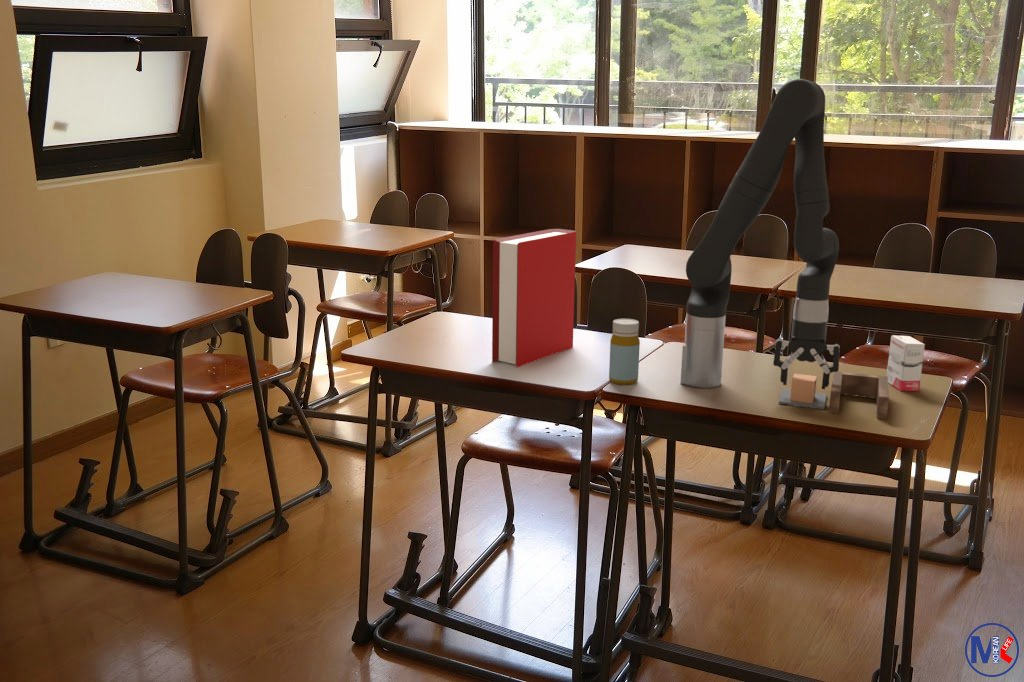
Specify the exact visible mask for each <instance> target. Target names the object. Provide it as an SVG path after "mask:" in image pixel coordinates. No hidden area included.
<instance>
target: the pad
mask: <svg viewBox="0 0 1024 682" xmlns="http://www.w3.org/2000/svg"><path fill="white" fill-rule="evenodd" d="M779 395H780V396H779V399H778V403H780V404H779V405H782V404H788V405H787V406H791V405H796V406H795V407H800V406H803V407H802V408H808V407H810V409H817V408H818V409H819V410H825V408H826V400H827V393H817V392H815V398H814V401H813V403H808V402H800V401H791V400H790V397H791V389H783V388H782V390H781V392H780V394H779Z"/></svg>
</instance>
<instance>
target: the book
mask: <svg viewBox="0 0 1024 682" xmlns="http://www.w3.org/2000/svg"><path fill="white" fill-rule="evenodd" d="M576 249H577V231H576V230H571V229H564V228H548V229H544V230H537V231H532V232H527V233H521V234H515V235H512V236H511V235H510V236H506V237H505V236H504V237H499V238H493V239H492V321H491V322H492V327H491V329H492V330H491V331H492V332H491V336H492V337H491V338H492V341H491V348H492V349H491V355H492V356H491V362H492V363H494V362H499V361H500V362H504V363H508V364H513V365H515V366H516V368H518V367H521V366H524V365H527V364H530V363H533V362H535V361H536V362H537V361H538V360H542V359H545V358H547V357H549V356H553V355H555V354H559V353H561V352H564V351H566V350H569V349H572V348H574V317H575V291H576V290H575V288H576V286H575V285H576V281H575V280H576V279H575V278H576V256H577V255H576V254H577V253H576V252H577V250H576Z"/></svg>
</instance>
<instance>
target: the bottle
mask: <svg viewBox="0 0 1024 682" xmlns="http://www.w3.org/2000/svg"><path fill="white" fill-rule="evenodd" d="M639 322H640V321H638V320H637V319H633V318H617V319H614V320H613V321H612V335H611V338H610V346H609V368H608V369H609V370H608V379H609V381H610V382H611V383H612V384H615V385H619V386H631V385H634V384H636V383H637V382H638V381H639V369H640V368H639V367H640V366H639V365H640V344H641V343H640V341H641V340H640V338H639V330H640V329H639V328H640V327H639V326H640V323H639Z"/></svg>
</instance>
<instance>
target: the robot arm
mask: <svg viewBox="0 0 1024 682" xmlns="http://www.w3.org/2000/svg"><path fill="white" fill-rule="evenodd" d="M825 113H826V94H825V92H824V90H823V88H822V87H821V86H820V85H819V84H818V83H816V82H815V81H811V80H808V79H804V78H794V79H790V80H788V81H787V82H785V83H784V84H783V85H782V86H781V87H780V88H779V89H778V91H777V93H776V95H775V97H774V99H773V102H772V104H771V107H770V109H769V111H768V113H767V116H766V118H765V121H764V123H763V126H762V127H761V129H760V132H758V135H757V137H756V138H755V140H754V141H753V143H752V145H751V146H750V149H749V150H748V152H747V154H746V155H745V157H744V159H743V161H742V162H741V165H740V166H739V168H738V170H737V171H736V173H735V174H734V177H733V178H732V180H731V182H730V184H729V185H728V188H727V190H726V192H725V194H724V196H723V198H722V200H721V202H720V204H719V206H718V209H717V211H716V213H715V216H714V217H713V220H712V222H711V224H710V226H709V227H708V230H707V231H706V233H705V234H704V235H703V237H702V238H701V240H700V242H699V243H698V244H697V246H696V247H695V249H694V250H693V251H692V253H691V254H690V256H689V257H688V259H687V261H686V264H685V274H686V277H687V280H688V281H689V283H690V284H691V291H690V295H689V296H688V299H687V303H686V315H685V316H686V318H685V331H684V332H685V333H684V334H685V335H684V344H683V345H682V350H681V351H682V354H681V372H680V384H681V385H687V386H691V387H692V388H693V387H695V388H703V389H704V388H706V389H710V388H715V387H719V386H721V384H722V377H723V376H722V373H723V358H724V345H725V329H726V317H727V307H728V303H729V300H730V291H731V281H732V268H733V267H732V260H731V256H732V253H733V251H734V249H735V247H736V246H737V245H738V242H739V240H740V239H741V238H742V236H743V235H744V234H745V233H746V232H747V230H748V229H749V228H750V227H751V226H752V224H753V223H754V222H755V221H756V219H758V217H759V215H760V214H761V213H762V211H763V209H764V208H765V206H766V205H767V204H768V202H769V201H770V198H771V197H772V194H773V193H774V191H775V189H776V187H777V185H778V182H779V179H780V177H781V175H782V170H783V167H784V164H785V161H786V160H785V158H786V156H787V152H788V150H789V148H790V146H791V144H792V142H793V140H794V143H795V156H794V157H795V158H794V169H793V191H794V201H795V209H796V216H795V221H794V223H795V224H794V232H793V246H794V249H795V252H796V255H797V256H798V257H799V259H800V260H802V261H803V262H806V265H805V269H804V270H802V271H801V272H800V273H799V274H798V276H797V283H796V292H795V293H796V294H795V302H794V304H793V310H792V311H793V312H792V325H791V334H790V336H791V337H790V340H783V338H778V339H777V340H776V343H775V349H774V357H773V363H772V364H773V366H775V367H778V368H779V369H780V379H779V380H780V383H782V385H783V386H787V383H788V372H789V366H790V365H791V364H793V362H794V361H795V360H797V361H799V362H808V363H814V362H817V364H818V366H819V367H820V368H821V370H823V374H822V384H821V390H826V388H828V387H829V385H830V376H831V373H832V374H833V372H837V371H839V368H840V346H841V345H840V344H839V343H835V344H827V341H826V340H827V332H828V331H827V329H828V321H829V309H830V307H829V299H830V297H829V296H830V288H831V285H830V284H831V279H832V276H833V273H834V271H835V268H836V264H837V261H838V257H839V252H840V242H839V237H838V235H837V233H836V232H835V231H833V230H832V229H830V228H827V227H824V218H825V217H826V216H827V215H828V214H830V213H829V212H830V198H829V187H828V180H827V172H826V171H827V170H826V160H825V146H824V145H825V143H824V141H825V137H824V136H825V135H824V134H825V131H824V130H825V118H826V117H825V115H826V114H825ZM786 347H788V348H789V350H790V352H791V353H790V354H789V355H788V356H787V358H785V360H781V354H782V351H783V350H785V348H786ZM826 351H829V354H830V355H832V356H833V359H832V365H829V364H828V363H827V360H826V359H825V357H824V354H825V353H826Z"/></svg>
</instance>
